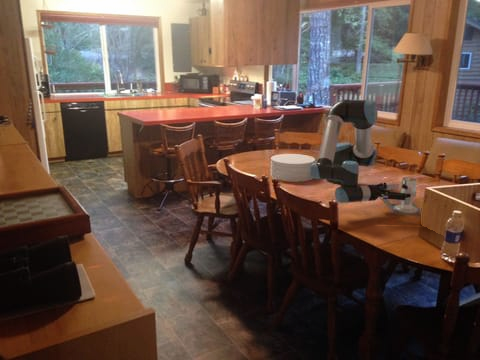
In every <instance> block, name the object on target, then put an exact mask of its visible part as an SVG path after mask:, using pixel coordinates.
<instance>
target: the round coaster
mask: <svg viewBox="0 0 480 360" xmlns="http://www.w3.org/2000/svg"><path fill="white" fill-rule="evenodd" d="M394 210H396V211H398V212H401V213H408V214H407V215H413V214H412V213H417V212H418V209H417V208H416V207H414V206H413V209H412V210H402V209H400V204H399V205H395V206H394Z"/></svg>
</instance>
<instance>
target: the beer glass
mask: <svg viewBox="0 0 480 360" xmlns="http://www.w3.org/2000/svg"><path fill="white" fill-rule="evenodd" d="M400 184H401V185H400V193H403V192H414V191H415V192H416V193H417V184H418V180H417V178H414V177H407V176H406V177H405V176H404V177H402V180H401V183H400ZM414 198H415V197H413V198H405V200H401V204H400V209H402V210H412V209H413V206H412V203H414Z"/></svg>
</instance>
